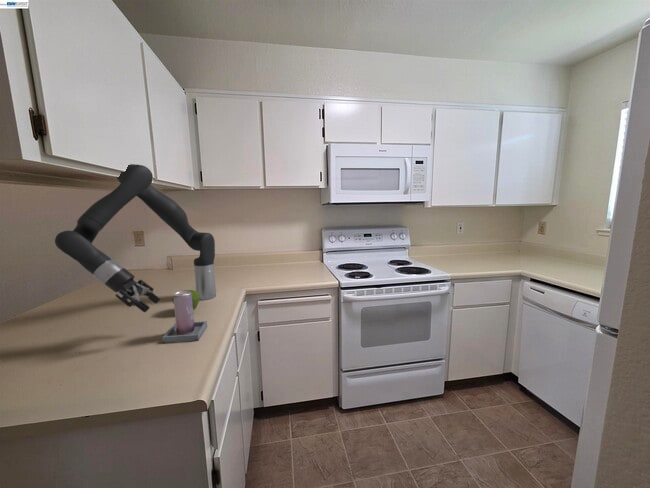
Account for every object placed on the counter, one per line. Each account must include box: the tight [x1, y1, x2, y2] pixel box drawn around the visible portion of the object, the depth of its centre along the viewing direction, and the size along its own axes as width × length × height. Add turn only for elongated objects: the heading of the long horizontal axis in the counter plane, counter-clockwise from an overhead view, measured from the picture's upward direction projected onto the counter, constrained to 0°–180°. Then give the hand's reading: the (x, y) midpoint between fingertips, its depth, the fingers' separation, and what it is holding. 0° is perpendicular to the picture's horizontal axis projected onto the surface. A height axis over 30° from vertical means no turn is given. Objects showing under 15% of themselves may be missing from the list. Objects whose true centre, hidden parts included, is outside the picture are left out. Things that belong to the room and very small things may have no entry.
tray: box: [161, 320, 208, 344], centre depth 103 cm, size 12×12×2 cm
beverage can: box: [172, 290, 195, 335], centre depth 102 cm, size 6×6×15 cm
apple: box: [172, 289, 200, 311], centre depth 124 cm, size 11×10×10 cm
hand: (153, 305), depth 100 cm, fingers open, 8 cm apart
